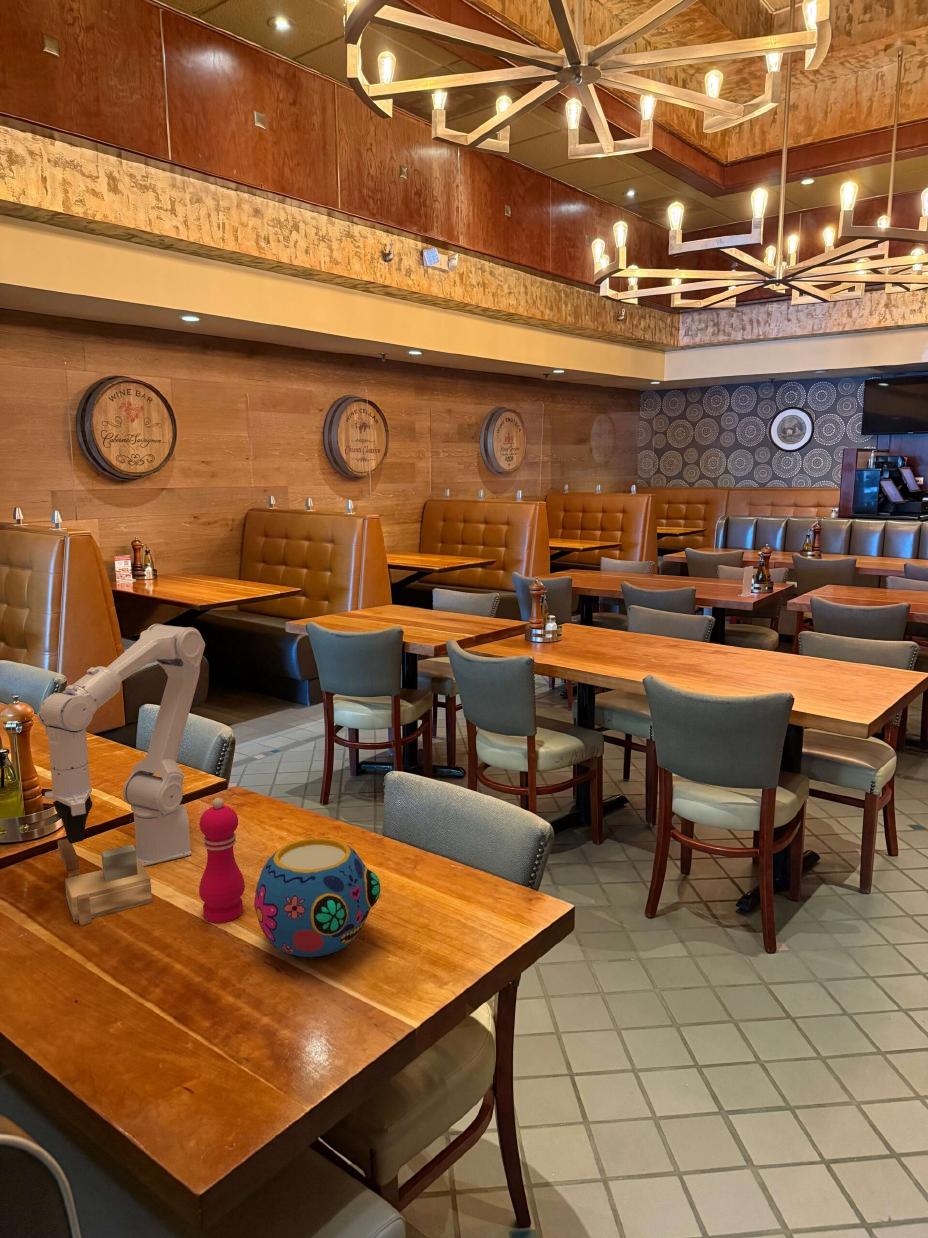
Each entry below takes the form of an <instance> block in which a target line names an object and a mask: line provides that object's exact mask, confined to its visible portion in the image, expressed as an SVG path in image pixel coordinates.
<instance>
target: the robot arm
mask: <svg viewBox="0 0 928 1238" xmlns="http://www.w3.org/2000/svg"><path fill="white" fill-rule="evenodd" d="M205 647H206V643H205V641H204V639H203V637H202V634H201V633H200V631H199V630H198V629H197V628H195V627H191V626H190V627H189V626H188V627H183V626H175V625H174V626H173V625H165V624H161V623H153V624H152V625H150V626H149V627H148V628H147V629H146V630H143V631H141V632H140V634H139V639H138V640H137V641H136V642H134V643H133V644H132V645H130V647H129V648H128V649H126V650H125V651H124V652H122V654H120V655H119V656H118V657H117V658H116V659H115V660H114V661H112V663H109V665H107V667H106V666H101V665H100V666H99V665H98V666H96V667H94V666H93V667H92V666H91V667H90V668H89V669H87V670H86V674H85V675H84V676H82V677H81V678H79V679H78V680H77V681H76V682H74V683H73V684H69V685H66V687H65V688H64V689H65V690H63V691H62V693H60V692H57V693H52V694H50V695H49V696H47V697H46V698H45V699H44V701H43V702H42V703H41V705H40V710H39V712H37V719H38V721H39V723H40V724H41V725H42V726H43V727H44V729H45V735H46V736H47V740H48V741H47V742H48V751H49V753H48V754H49V765H50V766H49V767H50V776H51V786H52V787H51V788H52V790H51V791H46V792H44V797H45V799H46V800H54V801H53V802H52V805H53V807H54V810H55V812H56V813H57V815H58V816H59V817H60V819H61V821H62V825H63V828H64V832H65V834H66V839H68V841H69V843H70V844H71V843H72V844H74V843H75V844H76V843H79V842H80V843H81V842H83V840H84V838H85V837H84V836H85V832H86V825H87V819H88V817H89V813H90V812H91V809H92V807H93V801H92V798H91V794H92V792H93V789H92V788H93V787H92V785H91V779H90V764H89V753H88V738H87V727H88V726H89V725H90V724H91V722H92V719H93V716H94V714H95V713H96V712H97V710H98V709H99V708H100V707H102V706H103V705H104V704H106V702H108V701H109V700H111V698H113V697H114V696H116V695H117V694H119V692H120V691H121V690H120V689H121V684H122V683H121V682H123V681H124V680H126V679H127V678H129V677H130V676H132V675H134V673H136V672H137V671H140V669H142V668H143V667H145V666H146V665H147V664H149V663H150V662H152V661H155V662H156V663H157V664H158V665H159V666H160V667H161V668H162V669H163V670H164V672H165V674H166V675H167V681H166V685H165V687H164V692H163V694H162V698H161V702H160V706H159V710H158V712H157V717H156V721H155V725H154V728H153V731H152V735H151V739H150V743H149V746H148V749H147V752H146V756H145V757H144V758H143V759H141V760H140V761H139V762H137V763H136V764H134V765H133V768H132V771H131V774H130V776H129V777H128V778H127V780H126V781H125V783H124V786H123V790H122V791H123V794H122V795H123V798H124V801H125V803H127V804H128V805H129V806H130V810H131V812H133V822H134V833H135V834H134V835H135V837H134V838H135V847H134V848H135V849H136V858H137V861H141V863H142V865H143V867H145V866H150V865H154V864H159V863H163V862H166V861H171V860H174V859H179V858H183V857H187V856H190V855H192V850H191V838H190V837H191V836H190V821H189V815H188V811H187V808H186V806H185V804H181V802H182V800H183V796H184V795H183V794H184V789H183V785H184V784H183V783H184V778H185V774H184V773H183V770H182V769H181V768H180V767H179V765H178V763H177V760H178V757H179V752H180V748H181V745H182V740H183V737H184V733H185V730H186V727H187V723H188V718H189V714H190V710H191V707H192V703H193V699H194V696H195V693H196V690H197V685H198V682H199V677H200V673H201V672H200V671H201V661H202V659H203V655H204V651H205ZM156 775H159V776H156ZM160 776H161V777H160Z"/></svg>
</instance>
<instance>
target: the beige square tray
mask: <svg viewBox="0 0 928 1238" xmlns="http://www.w3.org/2000/svg"><path fill="white" fill-rule="evenodd" d="M67 873H68V874H67V875H68V877H67V878H70V877H74V876H78V875H81V873H80V869H78V870H73V871H69V872H67ZM64 885H65V896H66V905H67V906H68V910H69V911H70V915H71V917H72V921H73V923H74V924H76V923H78V924H79V925H80V926H85V925H89V924H91V923H92V919H95V918H99V917H102V916H106V915H109V914H114V913H117V912H121V911H125V910H129V909H132V908H136V907H140V906H144V905H148V904H150V903H153V898H152V897H153V896H152V895H153V894H152V883H147V884H143V885H139V886H135V887H131V888H127V889H123V890H119V891H115V892H112V893H108V894H104V895H100V896H96V897H92V898H89V895H88V893H87V894H83V895H79V896H77V901H76V902H72V900H71V897H70V894H69V891H68V889H67V886H66V883H65V884H64Z"/></svg>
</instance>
